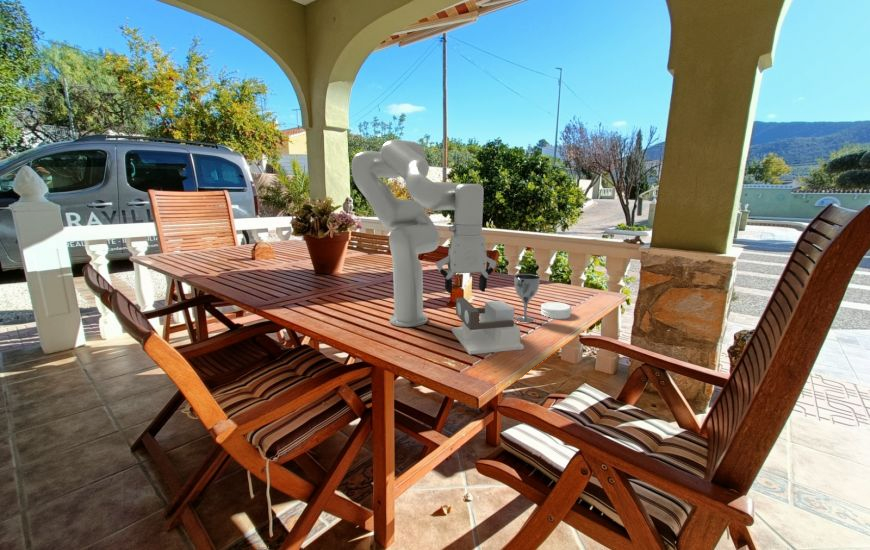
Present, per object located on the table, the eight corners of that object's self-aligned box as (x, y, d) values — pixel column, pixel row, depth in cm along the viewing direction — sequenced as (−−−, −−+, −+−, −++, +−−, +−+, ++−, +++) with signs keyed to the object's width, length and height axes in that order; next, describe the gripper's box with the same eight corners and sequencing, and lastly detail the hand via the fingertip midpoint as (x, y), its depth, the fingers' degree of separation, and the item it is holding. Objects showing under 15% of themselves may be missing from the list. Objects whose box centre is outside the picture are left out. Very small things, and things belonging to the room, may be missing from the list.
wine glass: (529, 325, 123) (532, 280, 119) (508, 320, 128) (510, 276, 124) (541, 319, 128) (544, 276, 125) (520, 314, 134) (522, 272, 130)
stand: (498, 326, 122) (499, 296, 120) (523, 349, 105) (525, 314, 103) (451, 330, 118) (451, 299, 116) (469, 354, 101) (470, 318, 99)
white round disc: (570, 321, 128) (571, 311, 127) (539, 318, 131) (540, 308, 130) (570, 312, 137) (571, 302, 136) (541, 309, 140) (542, 300, 139)
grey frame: (494, 311, 118) (494, 295, 117) (513, 326, 105) (514, 308, 104) (455, 314, 115) (455, 298, 114) (470, 330, 102) (470, 312, 101)
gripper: (440, 232, 98) (438, 296, 102) (503, 231, 102) (499, 293, 106) (433, 229, 105) (432, 289, 109) (492, 228, 109) (489, 286, 113)
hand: (465, 291), depth 108 cm, fingers open, 9 cm apart
